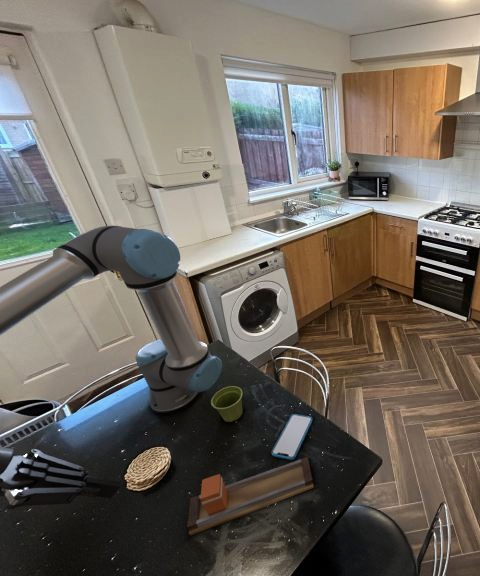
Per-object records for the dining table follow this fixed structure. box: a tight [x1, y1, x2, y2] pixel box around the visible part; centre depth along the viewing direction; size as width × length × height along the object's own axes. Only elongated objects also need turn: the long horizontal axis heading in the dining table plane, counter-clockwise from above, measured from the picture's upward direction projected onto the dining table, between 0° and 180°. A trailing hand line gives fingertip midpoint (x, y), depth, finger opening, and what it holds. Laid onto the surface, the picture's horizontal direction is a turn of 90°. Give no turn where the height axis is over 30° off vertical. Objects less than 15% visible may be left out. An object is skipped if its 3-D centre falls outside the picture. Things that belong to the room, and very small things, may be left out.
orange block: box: [200, 473, 228, 516], centre depth 78 cm, size 5×4×9 cm
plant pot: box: [210, 385, 244, 423], centre depth 104 cm, size 9×9×9 cm
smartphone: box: [271, 413, 313, 461], centre depth 99 cm, size 8×1×15 cm
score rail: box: [186, 456, 315, 537], centre depth 83 cm, size 8×30×3 cm, turn 112°
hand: (115, 489), depth 68 cm, fingers closed
